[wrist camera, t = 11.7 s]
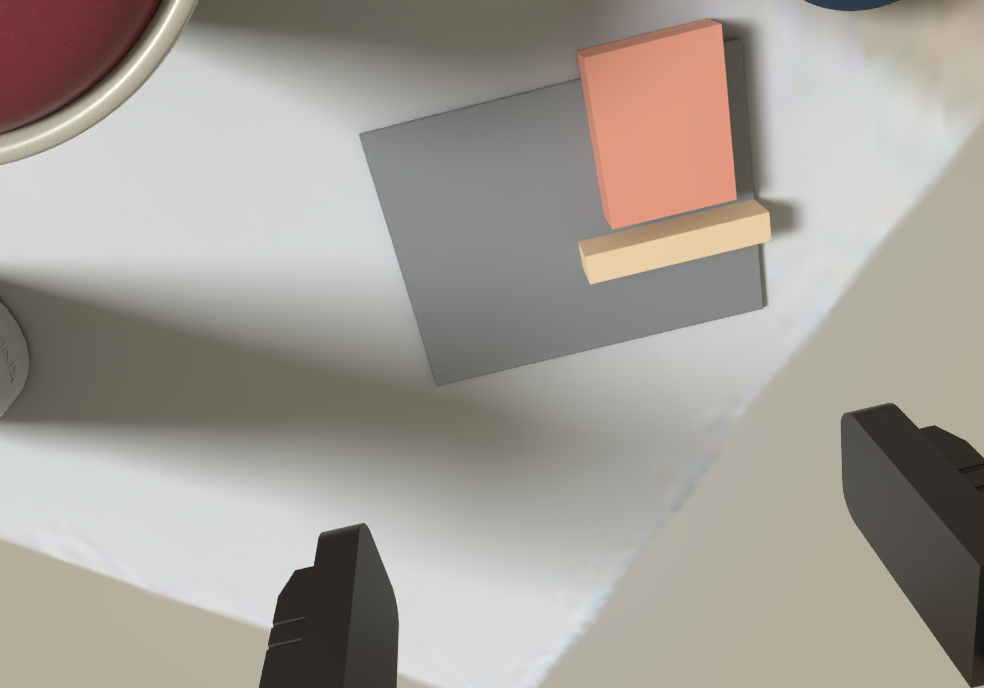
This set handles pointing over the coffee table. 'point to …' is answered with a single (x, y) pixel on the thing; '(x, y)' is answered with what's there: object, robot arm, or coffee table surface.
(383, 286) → the coffee table surface
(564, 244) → the mat
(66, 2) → the canister
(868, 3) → the christmas ornament
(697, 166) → the box
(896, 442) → the robot arm
